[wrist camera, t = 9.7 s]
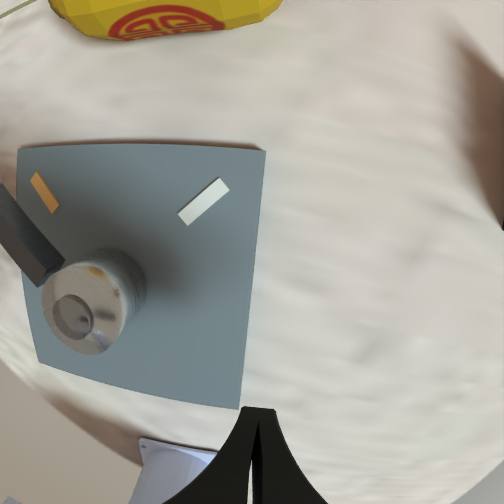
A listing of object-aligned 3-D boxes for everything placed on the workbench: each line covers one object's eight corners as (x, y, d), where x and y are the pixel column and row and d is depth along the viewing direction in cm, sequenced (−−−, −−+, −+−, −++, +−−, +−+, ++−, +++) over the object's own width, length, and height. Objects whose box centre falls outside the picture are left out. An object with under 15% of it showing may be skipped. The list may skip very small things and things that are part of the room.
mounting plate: (239, 399, 23) (238, 411, 22) (45, 355, 24) (37, 363, 22) (265, 151, 18) (265, 150, 17) (27, 148, 19) (16, 148, 18)
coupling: (161, 286, 19) (127, 324, 14) (121, 332, 20) (86, 375, 15) (37, 160, 18) (-16, 163, 12) (10, 214, 19) (-39, 228, 14)
